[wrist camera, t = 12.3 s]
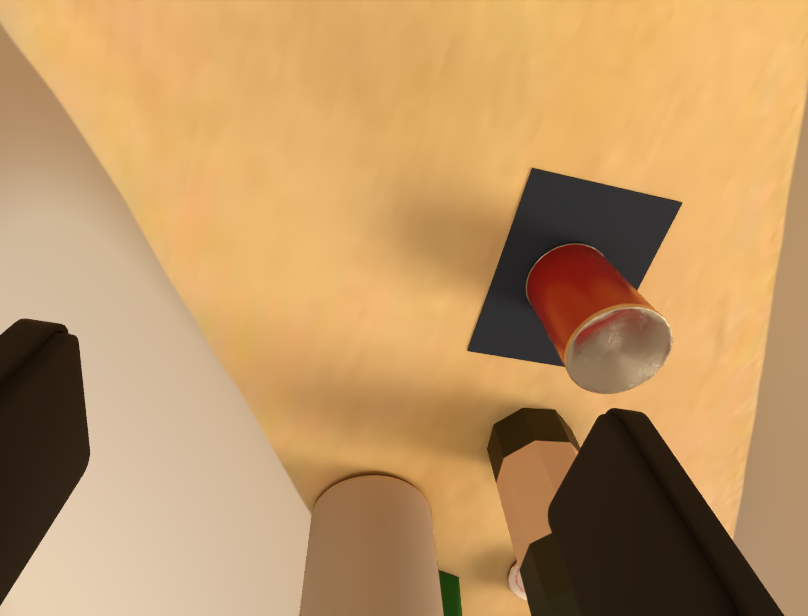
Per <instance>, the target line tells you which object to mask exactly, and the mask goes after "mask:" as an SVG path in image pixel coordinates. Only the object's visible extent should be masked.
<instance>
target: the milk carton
mask: <svg viewBox="0 0 808 616" xmlns="http://www.w3.org/2000/svg"><path fill="white" fill-rule="evenodd" d="M438 572H439V581H440V589H441V598H442V606H443V614H444V616H462V608H461V597H460V586H459V577H456V576H453V575H450V574H446V573H443V572H440V571H438Z"/></svg>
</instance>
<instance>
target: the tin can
mask: <svg viewBox="0 0 808 616" xmlns="http://www.w3.org/2000/svg"><path fill="white" fill-rule="evenodd" d="M525 293H526V297H527V299H528V301H529V303H530V304H531V306H532V307H533V309H534V311H535V312H536V314H537V316H538V318H539V320H540V321H541V323H542V325H543V327H544V329H545V330H546V332H547V334H548V336H549V338H550V340H551V341H552V343H553V345H554V347H555V349H556V350H557V352H558V354H559V356H560V358H561V360H562V361H563V363H564V365H565V367H566V370H567V372H568V374H569V376H570V377H571V379H572V380H573V381H574V382H575V383H576V384H577V385H578V386H580V387H581V388H583V389H585V390H587V391H590V392H594V393H600V394H612V393H619V392H623V391H627V390H630V389H632V388H635V387H637V386H639V385H641V384H642V383H644V382H646V381H647V380H649V379H650V378H651V377H652V376H654V375H655V374H656V373H657V372H658V371H659V370H660V368H661V367H662V366H663V365H664V363H665V362H666V360H667V358H668V356H669V354H670V351H671V347H672V339H673V338H672V331H671V328H670V326H669V324H668V322H667V321H666V320H665V318H664V317H663V316H662V315H661V314H660V313H658V312H657V311H656V310H655V309H654V308H653V307H652V306H651V305H650V304H649V303H648V302H647V301H646V300H645V299H644V298H643V297H642V296H641V295H640V294H639V293H638V291H637V290H636V289H635V288H634V287H633V286H632V285H631V284H630V283H629V282H628V281H627V280H626V279H625V278H624V277H623V276H622V275H621V274H620V273H619V272H618V271H617V270H616V269H615V268H614V267H613V266H612V265H611V263H610V262H609V261H608V260H607V259H606V258H605V257H604V256H603V254H602V253H601V252H600V251H599V250H598V249H596V248H595V247H593V246H591V245H589V244H586V243H582V242H566V243H562V244H559V245H556V246H554V247H552V248H550V249H548V250H546V251H545V252H543V253H542V254H541V255H540V256H539V257H538V258H537V259H536V260H535V261H534V262H533V264H532V265H531V267H530V268H529V271H528V273H527V276H526V280H525Z"/></svg>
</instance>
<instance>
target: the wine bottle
mask: <svg viewBox="0 0 808 616" xmlns="http://www.w3.org/2000/svg"><path fill="white" fill-rule="evenodd" d="M580 449H581V448H580V446H579V444H578V442H577V440H576V438H575V436H574V434H573V432H572V430H571V428H570V427H569V426H568V425H567V424H566V422H565V421H564V420H563V419H562V418H561V416H560V415H559V414H558V413H557V412H556V410H545V409H529V408H522V409H520V410H519V411H517V412H515V413H513V414H512V415H510V416H508V417H507V418H505V419H503V420H501V421H500V422H498V423H496V424H495V425H494V427H493V430H492V434H491V437H490V441H489V444H488V448H487V450H488V454H489V458H490V461H491V465H492V469H493V473H494V477H495V480H496V484H497V488H498V492H499V495H500V499H501V503H502V507H503V510H504V514H505V518H506V522H507V525H508V529H509V533H510V537H511V541H512V544H513V548H514V552H515V556H516V559H517V563H518V567H519V571H520V574H521V578H522V582H523V586H524V589H525V593H526V597H527V601H528V605H529V608H530V612H531V616H580V613H579V610H578V607H577V604H576V601H575V598H574V595H573V593H572V590H571V587H570V584H569V581H568V578H567V575H566V572H565V569H564V567H563V564H562V561H561V558H560V555H559V552H558V549H557V546H556V544H555V541H554V538H553V535H552V532H551V529H550V526H549V523H548V508H549V505H550V503H551V501H552V499H553V497H554V496H555V494H556V492H557V490H558V488H559V487H560V485H561V483H562V481H563V479H564V478H565V476H566V474H567V472H568V470H569V468H570V467H571V465H572V463H573V461H574V459H575V458H576V456H577V454H578V452H579V450H580Z"/></svg>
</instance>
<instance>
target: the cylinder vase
mask: <svg viewBox="0 0 808 616" xmlns="http://www.w3.org/2000/svg"><path fill="white" fill-rule="evenodd" d="M299 616H444V614H443V606H442V598H441V589H440V581H439V572H438V564H437V555H436V547H435V538H434V530H433V521H432V513H431V508H430V505H429V503H428V501H427V499H426V498H425V496H424V495H423V494H422V493H421V492H420V491H419V490H418V489H417V488H415V487H414V486H412V485H411V484H409V483H407V482H405V481H403V480H400V479H397V478H394V477H389V476H382V475H366V476H358V477H354V478H350V479H347V480H344V481H342V482H340V483H338V484H336V485H334V486H332V487H331V488H329V489H328V490H327V491H326V492H325V493H323V494H322V496H321V497H320V498H319V499H318V501H317V502H316V504H315V506H314V509H313V512H312V517H311V525H310V533H309V541H308V550H307V558H306V567H305V575H304V582H303V590H302V598H301V607H300V615H299Z"/></svg>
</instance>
